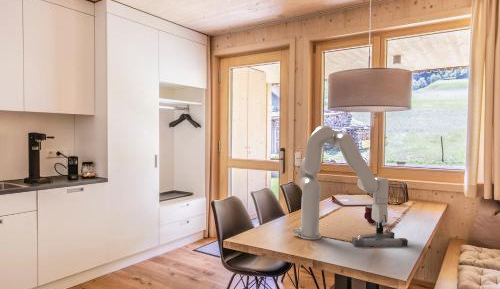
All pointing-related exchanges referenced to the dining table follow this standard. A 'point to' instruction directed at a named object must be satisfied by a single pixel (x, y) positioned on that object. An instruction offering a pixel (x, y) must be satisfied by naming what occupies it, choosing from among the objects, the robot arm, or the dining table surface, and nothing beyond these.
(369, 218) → the mug
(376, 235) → the tongs leg
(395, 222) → the dining table surface
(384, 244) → the base
